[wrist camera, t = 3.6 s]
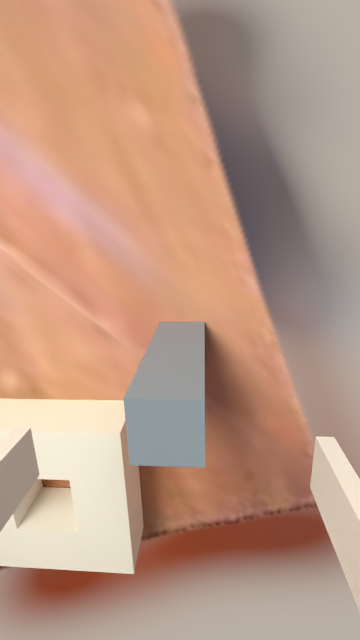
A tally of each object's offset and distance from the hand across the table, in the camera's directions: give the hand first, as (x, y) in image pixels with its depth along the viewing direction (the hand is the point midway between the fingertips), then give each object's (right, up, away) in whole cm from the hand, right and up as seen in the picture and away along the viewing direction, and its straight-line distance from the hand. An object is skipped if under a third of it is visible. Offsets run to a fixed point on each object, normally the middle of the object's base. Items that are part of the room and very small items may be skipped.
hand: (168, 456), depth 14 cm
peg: (+1, +4, +14) cm, 15 cm away
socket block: (-12, -9, +19) cm, 24 cm away
